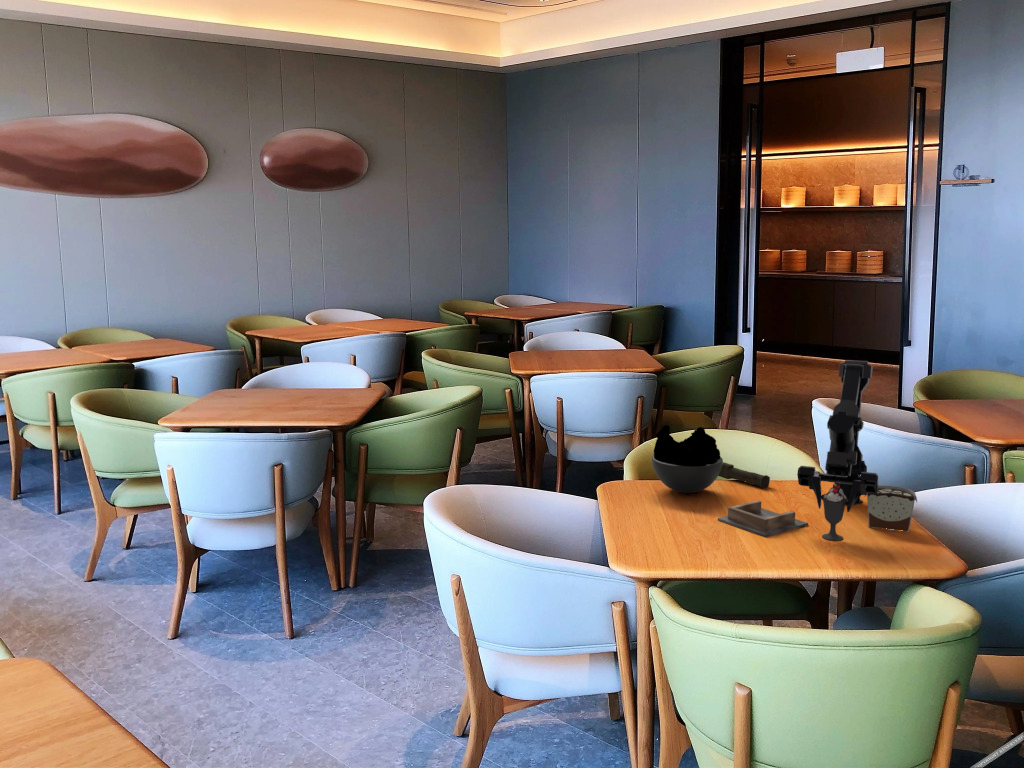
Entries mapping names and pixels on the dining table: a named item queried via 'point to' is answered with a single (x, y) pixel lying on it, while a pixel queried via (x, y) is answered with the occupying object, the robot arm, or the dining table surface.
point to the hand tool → (743, 475)
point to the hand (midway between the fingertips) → (833, 509)
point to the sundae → (834, 510)
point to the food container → (891, 507)
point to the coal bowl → (686, 461)
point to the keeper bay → (761, 519)
